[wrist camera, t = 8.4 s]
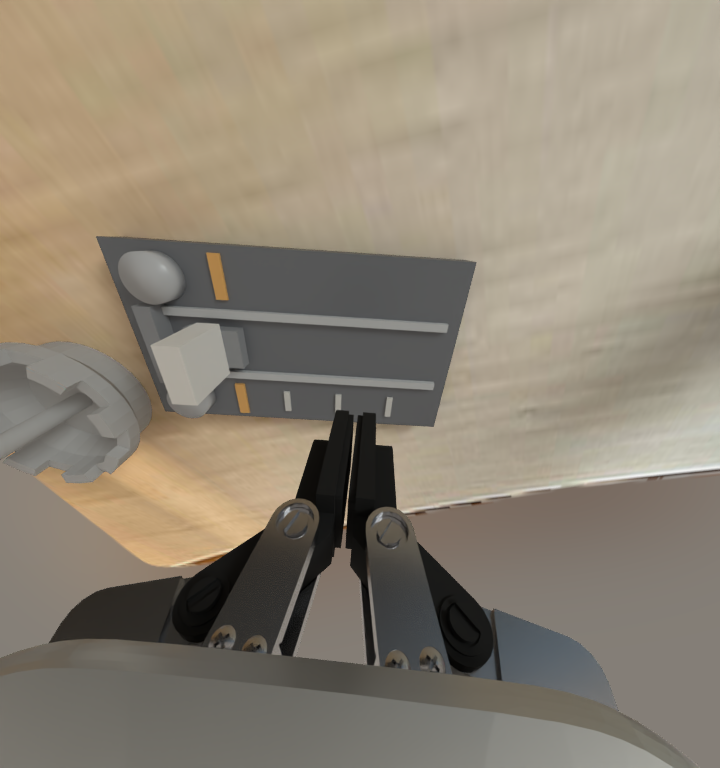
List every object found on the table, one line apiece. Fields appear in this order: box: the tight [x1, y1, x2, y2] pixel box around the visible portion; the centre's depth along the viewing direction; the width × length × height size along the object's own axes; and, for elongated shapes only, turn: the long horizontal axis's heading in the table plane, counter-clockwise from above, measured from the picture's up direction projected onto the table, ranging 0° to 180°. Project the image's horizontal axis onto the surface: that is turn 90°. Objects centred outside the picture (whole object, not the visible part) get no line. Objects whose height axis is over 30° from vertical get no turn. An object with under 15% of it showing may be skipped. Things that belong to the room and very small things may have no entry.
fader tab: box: [150, 323, 249, 406], centre depth 18 cm, size 4×4×6 cm
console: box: [96, 236, 476, 427], centre depth 20 cm, size 25×14×4 cm, turn 87°
